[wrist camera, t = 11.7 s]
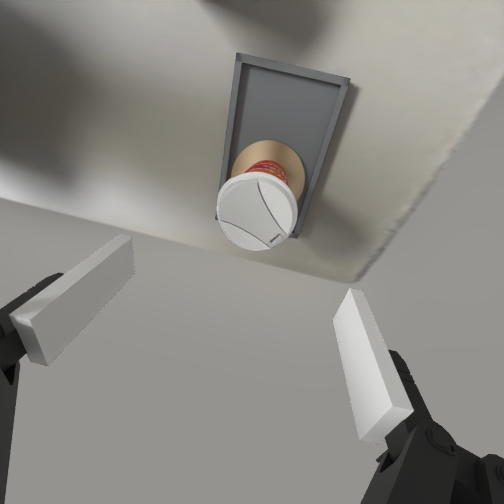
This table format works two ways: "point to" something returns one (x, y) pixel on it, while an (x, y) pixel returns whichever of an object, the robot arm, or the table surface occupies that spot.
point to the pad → (277, 154)
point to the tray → (283, 116)
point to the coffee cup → (257, 207)
